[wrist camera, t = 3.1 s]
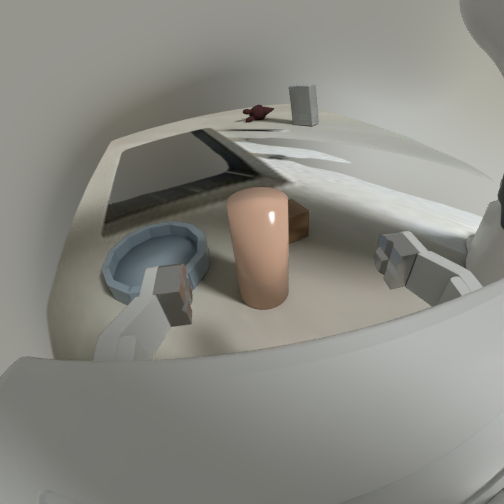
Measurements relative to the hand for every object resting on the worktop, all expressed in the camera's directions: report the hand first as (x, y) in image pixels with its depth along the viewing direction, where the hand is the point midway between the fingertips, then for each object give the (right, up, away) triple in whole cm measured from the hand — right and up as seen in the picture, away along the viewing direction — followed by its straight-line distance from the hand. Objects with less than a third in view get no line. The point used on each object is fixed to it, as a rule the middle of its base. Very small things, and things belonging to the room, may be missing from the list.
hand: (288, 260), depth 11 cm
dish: (-14, -2, +23) cm, 27 cm away
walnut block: (+4, +3, +27) cm, 27 cm away
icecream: (+2, +56, +93) cm, 109 cm away
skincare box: (+18, +48, +81) cm, 96 cm away
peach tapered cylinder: (0, -4, +19) cm, 19 cm away
